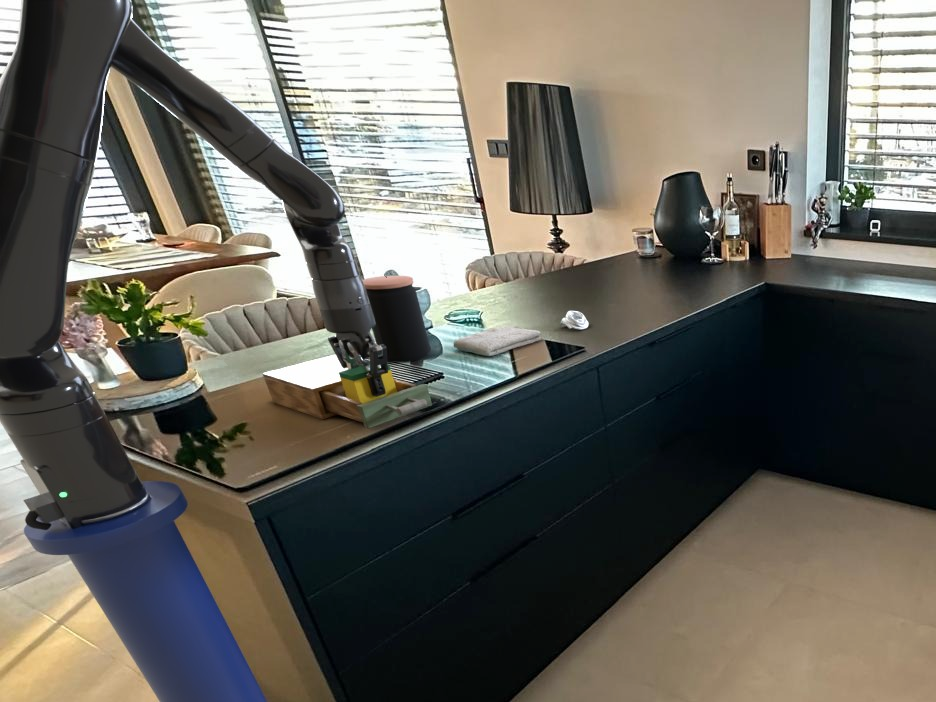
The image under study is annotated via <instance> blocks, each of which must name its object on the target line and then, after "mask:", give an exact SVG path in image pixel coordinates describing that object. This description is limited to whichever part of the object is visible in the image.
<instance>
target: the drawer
mask: <svg viewBox="0 0 936 702" xmlns="http://www.w3.org/2000/svg"><path fill="white" fill-rule="evenodd" d="M393 379H394V382H395V386H396V389H397V392H396V393H393V394H390V395H387V396H384V397H381V398H378V399H375V400H372V401H369V402H366V403H363V404H362V402H359V401H356V400H353V399H350V398H347V396H346V393H345V390H344V387H343V384H342V385H339V386H336V387H332V388H329V389H326V390H322V391H319V395H320V398H321V401H322V404H323V406H324V409H325V410H327V411H330V412H333V413H336V414H338V415H339V416H341V417H345V418H348V419H350V420H354V421H358V422H360V423H363V426H364V428H366V429H371V428H374V427H377V426H379V425H382V424H384V423H387V422H390V421H393V420H395V419H398V418H401V417H404V416H406V415H410V414H412V413H415V412H418V411H420V410H424V409H426V408H428V407H431V406H433V403H432V399H431V395H430V391H429V388H428V387H429V386H428V384H425V383H420V384H417V385H416V384H415V383H411V382H408V381H405V380H401V379H398V378H394V377H393Z"/></svg>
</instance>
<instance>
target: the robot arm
mask: <svg viewBox="0 0 936 702" xmlns="http://www.w3.org/2000/svg"><path fill="white" fill-rule="evenodd" d="M20 3H21V4H20V15H19V24H18V33H17V37H16V42H15V46H14V49H13V52H12V54H11V56H10V59H8V63H6V66H5V68H4V70H3V72H2V74H1V76H0V424H1V426H2V427H3V429H4V431H5V432H6V434H7V435H8V438H9V439H10V440H11V442H12V444H13V445H14V447H15V448H16V450H17V452H18V453H19V455H20V456H21V459H20V461H19V462H20V464H21V466H22V468H23V469H24V471H25V473H26V475H28V478H29V479H30V481H31V482H32V484H33V486H34V488H35V489H36V490H37V492H38V493H39V494H38V495H35V496H32V497H29V498H25V499H23V502H24V504H25V505H26V508H28V510H29V511H28V512H27V514H26V516H25V519H24V522H25V525H28V526H29V527H32V528H35V529H42V530H48V529H49V528H50V527H51V525H52V524H50V523H49V522H52V521H55V520H58V521H60V522H61V523H62V524H64V525H66V526H68V527H70V528H71V529H75V528H78V527H81V526H84V525H90V524H95V523H100V522H104V521H108V520H112V519H115V518H118V517H121V516H124V515H126V514H129V513H131V512H133V511H135V510H137V509H139V508H140V507H142V506H144V505H145V504H146V503H147V502H148V501H149V499H150V495H149V493H148V491H147V490H145V487H144V485H143V484H142V482H143V481H142V480H141V479H140V477H139V474H138V473H137V471H136V469H135V467H134V464H133V463H132V461H131V459H130V457H129V456H128V453H127V452H126V450H125V448H124V446H123V444H122V442H121V441H120V438H119V436H118V435H117V433H116V431H115V429H114V427H113V425H112V424H111V421H110V420H109V418H108V416H107V414H106V412H105V410H104V408H103V407H102V404H101V403H100V400H99V399H98V396H97V395H96V393H95V391H94V388H92V385H91V384H90V383H91V382H89V381H90V380H88V378H87V376H86V375H85V374H84V373H83V372H82V371H81V370H80V368H79V367H78V366H77V365H76V363H75V362H74V361H73V360H72V358H71V357H70V355H69V354H68V352H67V351H66V349H65V347H64V345H63V343H62V341H61V340H60V339H61V338H62V335H63V333H64V327H65V315H66V314H65V313H66V311H65V310H66V296H67V295H66V294H67V280H68V270H69V263H70V257H71V255H72V251H73V247H74V245H75V242H76V240H77V237H78V234H79V230H80V226H81V224H82V223H81V222H82V219H83V215H84V212H85V208H86V205H87V200H88V197H89V195H90V191H91V187H92V183H93V177H94V173H95V169H96V164H97V160H98V155H99V153H98V152H99V146H100V142H101V133H102V126H103V119H104V118H103V116H104V106H105V105H104V104H105V92H106V85H107V81H108V77H109V74H110V70H111V68H112V69H113V70H115V71H116V72H117V73H119V74H120V75H121V76H123V77H125V78H126V79H127V80H128V81H130V82H131V83H133V84H134V85H135V86H137V87H138V88H139V89H140V90H142V91H143V92H145V93H146V94H147V95H148V96H150V97H151V98H152V99H153V100H155V101H156V102H157V103H159V105H161V106H162V107H164V108H165V109H166V111H168V112H170V113H171V114H172V115H173V116H174V117H176V118H177V119H178V120H179V121H180V122H182V123H183V124H184V125H185V126H186V127H188V128H189V129H190V130H191V131H192V132H193V133H195V134H196V135H197V136H198V137H200V138H201V139H202V140H203V141H204V142H205V143H207V144H208V145H209V146H210V147H211V148H213V149H214V150H215V151H216V152H218V153H219V154H220V155H221V156H222V157H223V158H224V159H225V160H227V161H228V162H229V163H231V165H233V166H234V167H236V168H237V169H238V170H239V171H240V172H241V173H243V174H244V175H246V176H247V177H249V178H250V179H252V180H254V181H255V182H258V183H259V184H261V185H262V186H263V187H265V188H266V189H267V190H269V191H270V193H272V194H273V195H274V196H276V197H277V198H278V199H279V200H280V201H281V203H282V207H283V210H284V212H285V215H286V218H287V220H288V222H289V225H290V227H291V229H292V231H293V233H294V235H295V237H296V239H297V241H298V244H299V245H300V247H301V250H302V253H303V257H304V261H305V264H306V267H307V270H308V273H309V275H310V279H311V284H312V289H313V290H312V291H313V294H314V297H315V300H316V303H317V306H318V309H319V312H320V314H321V318H322V321H323V324H324V327H325V330H326V331H327V332H329V333H331V334H335V335H333V336H328V338H327V340H328V343H329V345H330V347H331V348H332V351H333V353H334V355H336V356H337V358H338V360H339V362H340V364H341V366H342V367H343V368H347V369H348V370H349V369H352V368H356V367H359V366H361V367H362V368H363V370H364V372H365V374H366V376H367V377H368V378H367V380H368V383H369V386H370V389H371V393H372V395H373V396H376V397H377V396H380V395H383V394H385V393H386V390H385V387H384V384H383V380H382V377H381V375H382V374H386V373H388V365H389V363H388V362H389V361H387V348H386V346H385V345H384V344H382V345H377V344H376V341H375V338H374V336H373V335H372V333H371V331H372V328H373V327H374V326H375V324H376V322H375V319H374V315H373V312H372V309H371V305H370V302H369V298H368V295H367V292H366V288H365V286H364V283H363V281H362V280H363V279H362V277H361V273H360V270H359V267H358V263H357V260H356V257H355V254H354V251H353V249H352V247H351V245H350V244H349V243H348V242H347V241H346V240H345V238H344V237H343V234H342V231H341V228H340V225H339V223H341V221H342V220H343V218H344V216H345V211H346V209H345V203H344V200H343V199H342V197H341V196H340V194H339V193H338V191H337V190H335V188H334V187H333V186H332V185H330V184H329V183H328V182H327V181H326V180H325V179H323V178H322V177H321V176H320V175H319V174H318V173H316V172H315V171H313V170H312V169H311V168H310V167H308V166H307V165H306V164H304V163H303V162H301V161H300V160H299V159H297V158H296V157H295V156H294V155H292V154H291V153H290V152H289V151H288V150H287V149H285V148H284V147H283V145H281V143H280V142H278V141H277V139H276V138H274V137H273V136H272V135H271V134H270V133H269V132H268V131H267V130H265V129H264V128H263V126H261V125H260V124H259V123H258V122H257V121H255V119H254V118H252V117H251V116H250V115H249V114H248V113H247V112H245V110H243V109H241V108H240V107H239V106H238V105H237V104H236V103H235V102H233V101H231V99H229V98H227V97H226V96H225V95H223V94H222V93H221V92H219V91H218V90H217V89H215V88H213V87H212V86H211V85H210V84H208V83H206V82H205V81H203V80H202V79H201V78H199V77H198V76H196V75H195V74H193V73H192V72H191V71H189V70H188V69H186V67H184V66H183V65H182V64H180V63H179V62H178V61H177V60H176V59H174V58H173V57H172V56H171V55H169V54H168V53H167V52H166V51H165V50H164V49H162V48H161V47H160V46H159V45H158V44H157V43H156V42H155V41H154V40H152V39H151V37H150V36H149V35H147V34H146V32H145V31H143V29H142V28H141V27H140V26H139V25H138V24H137V23H136V22H135V21H134V19H132V18H133V4H132V0H21V2H20ZM369 364H370V369H369V366H368V365H369ZM380 365H381V367H380ZM370 370H371V371H370ZM37 518H38V519H39V520H41V521H43V522H39V521H37V520H36V519H37Z"/></svg>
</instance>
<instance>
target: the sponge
mask: <svg viewBox="0 0 936 702" xmlns="http://www.w3.org/2000/svg"><path fill="white" fill-rule="evenodd" d="M368 366H369V369H370V364H369V365H368ZM380 367H381V365H380ZM370 371H371V370H370ZM339 375H340V378H341V381H342V384H343V387H344V390H345V393H346V396H347V398H350V399H353V400H356V401H359V402H362V404H363V403H366V402H369V401H372V400H375V399H378V398H381V397H384V396H387V395H390V394H393V393H396V392H397V389H396V386H395V382H394V379H395V378H394V376H393V372H392V369H391V366H390V364H388V373H386V374H382V375H381V377H382V380H383V384H384V387H385V390H386V393H385V394H383V395H380V396H377V397H376V396H373V395H372V393H371V389H370V386H369V383H368V380H367V378H368V377H367V376H366V374H365V372H364V370H363V368H362V367H361V366H359V367H356V368H352V369H349V370H345V371H342V372H339ZM393 378H394V379H393Z"/></svg>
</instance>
